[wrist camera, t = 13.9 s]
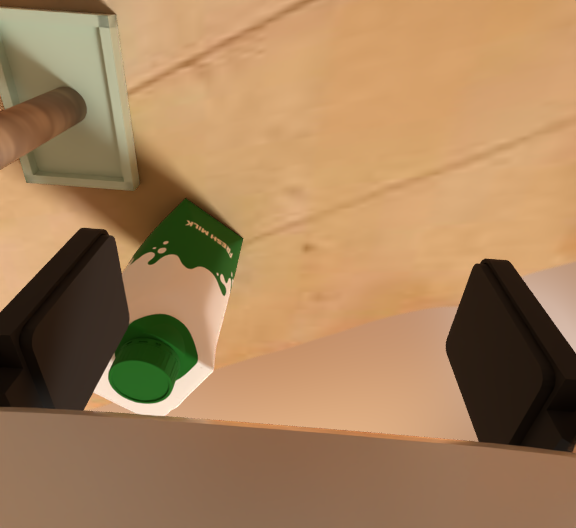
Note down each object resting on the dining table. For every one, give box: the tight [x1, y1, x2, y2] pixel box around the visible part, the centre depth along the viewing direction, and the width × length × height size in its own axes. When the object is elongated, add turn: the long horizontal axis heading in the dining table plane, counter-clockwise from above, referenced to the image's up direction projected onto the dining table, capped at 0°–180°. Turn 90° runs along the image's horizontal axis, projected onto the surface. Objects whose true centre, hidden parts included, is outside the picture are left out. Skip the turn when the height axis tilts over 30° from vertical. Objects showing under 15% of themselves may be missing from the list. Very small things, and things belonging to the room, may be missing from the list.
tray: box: [0, 6, 140, 191], centre depth 36 cm, size 14×10×2 cm
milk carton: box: [93, 198, 243, 416], centre depth 35 cm, size 9×9×20 cm
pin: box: [0, 87, 87, 170], centre depth 31 cm, size 3×3×12 cm
